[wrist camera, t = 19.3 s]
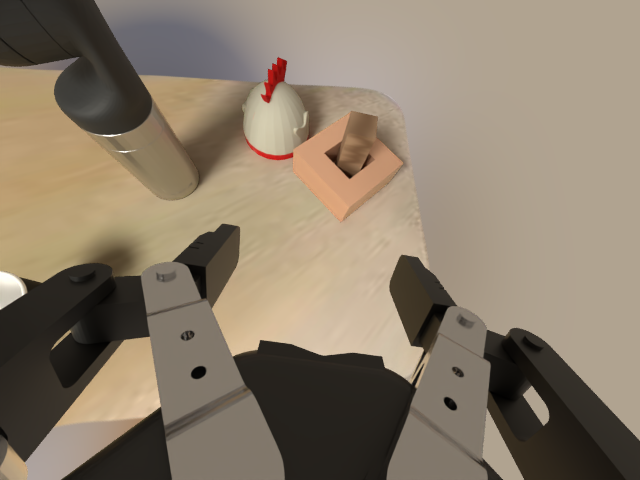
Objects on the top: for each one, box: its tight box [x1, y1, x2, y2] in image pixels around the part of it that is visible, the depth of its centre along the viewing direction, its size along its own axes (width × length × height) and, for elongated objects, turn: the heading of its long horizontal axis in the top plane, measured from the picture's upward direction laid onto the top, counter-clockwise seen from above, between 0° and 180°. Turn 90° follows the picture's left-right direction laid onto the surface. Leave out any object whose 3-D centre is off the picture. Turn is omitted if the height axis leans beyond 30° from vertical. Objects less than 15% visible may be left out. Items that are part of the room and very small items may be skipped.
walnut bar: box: [335, 111, 378, 179], centre depth 44 cm, size 4×4×14 cm
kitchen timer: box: [242, 57, 309, 160], centre depth 46 cm, size 14×14×15 cm
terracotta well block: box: [293, 112, 403, 222], centre depth 48 cm, size 15×15×7 cm
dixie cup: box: [0, 271, 42, 310], centre depth 33 cm, size 8×8×11 cm
